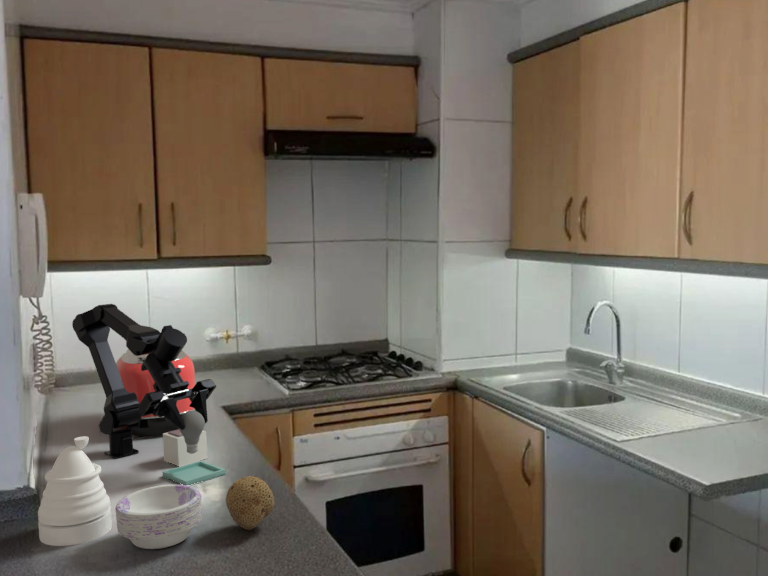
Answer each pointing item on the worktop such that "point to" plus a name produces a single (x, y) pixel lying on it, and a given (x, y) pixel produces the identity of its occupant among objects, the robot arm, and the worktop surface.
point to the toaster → (144, 383)
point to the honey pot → (74, 500)
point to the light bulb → (192, 429)
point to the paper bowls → (159, 515)
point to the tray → (194, 473)
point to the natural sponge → (249, 501)
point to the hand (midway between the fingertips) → (195, 425)
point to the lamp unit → (182, 448)
